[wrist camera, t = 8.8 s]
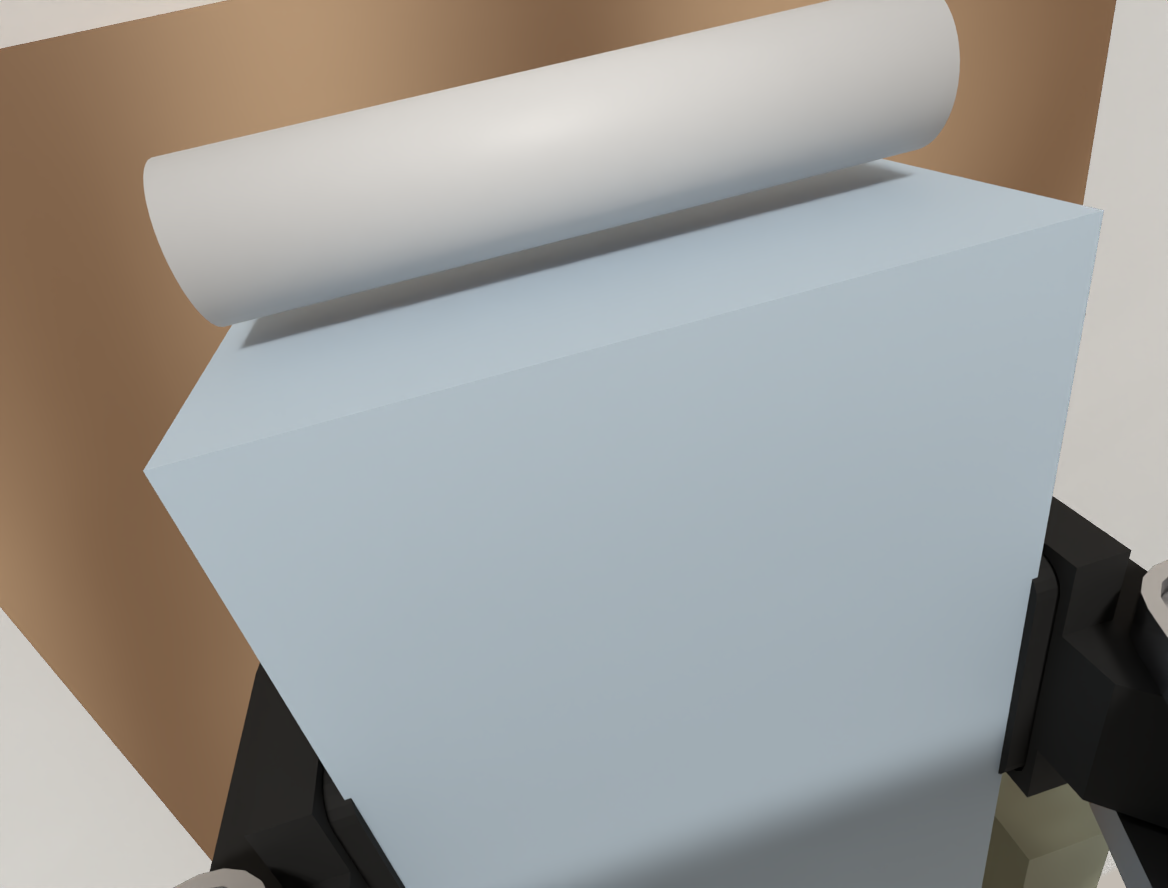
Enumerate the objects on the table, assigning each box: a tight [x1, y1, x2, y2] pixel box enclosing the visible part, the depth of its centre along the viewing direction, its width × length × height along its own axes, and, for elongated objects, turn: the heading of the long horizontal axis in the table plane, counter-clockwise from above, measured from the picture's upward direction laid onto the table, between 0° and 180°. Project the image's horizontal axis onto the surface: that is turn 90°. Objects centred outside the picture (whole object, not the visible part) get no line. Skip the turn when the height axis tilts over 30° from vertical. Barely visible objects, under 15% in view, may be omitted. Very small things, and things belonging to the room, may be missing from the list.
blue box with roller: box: [143, 0, 1104, 888], centre depth 8 cm, size 6×10×4 cm, turn 11°
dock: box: [0, 0, 1116, 888], centre depth 13 cm, size 16×24×6 cm, turn 11°
